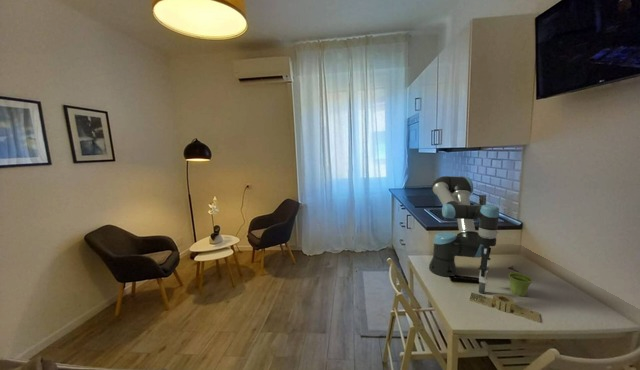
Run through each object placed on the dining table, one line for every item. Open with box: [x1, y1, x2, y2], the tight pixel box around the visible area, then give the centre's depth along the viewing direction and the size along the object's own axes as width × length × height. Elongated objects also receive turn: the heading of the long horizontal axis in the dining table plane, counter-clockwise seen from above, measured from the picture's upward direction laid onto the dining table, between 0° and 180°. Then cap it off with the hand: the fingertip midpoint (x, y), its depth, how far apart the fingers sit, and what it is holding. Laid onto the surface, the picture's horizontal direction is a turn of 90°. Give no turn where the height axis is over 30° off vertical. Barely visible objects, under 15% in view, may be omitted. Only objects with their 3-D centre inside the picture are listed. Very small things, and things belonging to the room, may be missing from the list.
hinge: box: [469, 292, 541, 323], centre depth 117 cm, size 26×8×4 cm, turn 53°
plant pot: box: [508, 272, 533, 297], centre depth 128 cm, size 9×9×9 cm
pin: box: [478, 266, 489, 295], centre depth 128 cm, size 4×4×14 cm
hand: (483, 276), depth 127 cm, fingers open, 13 cm apart
